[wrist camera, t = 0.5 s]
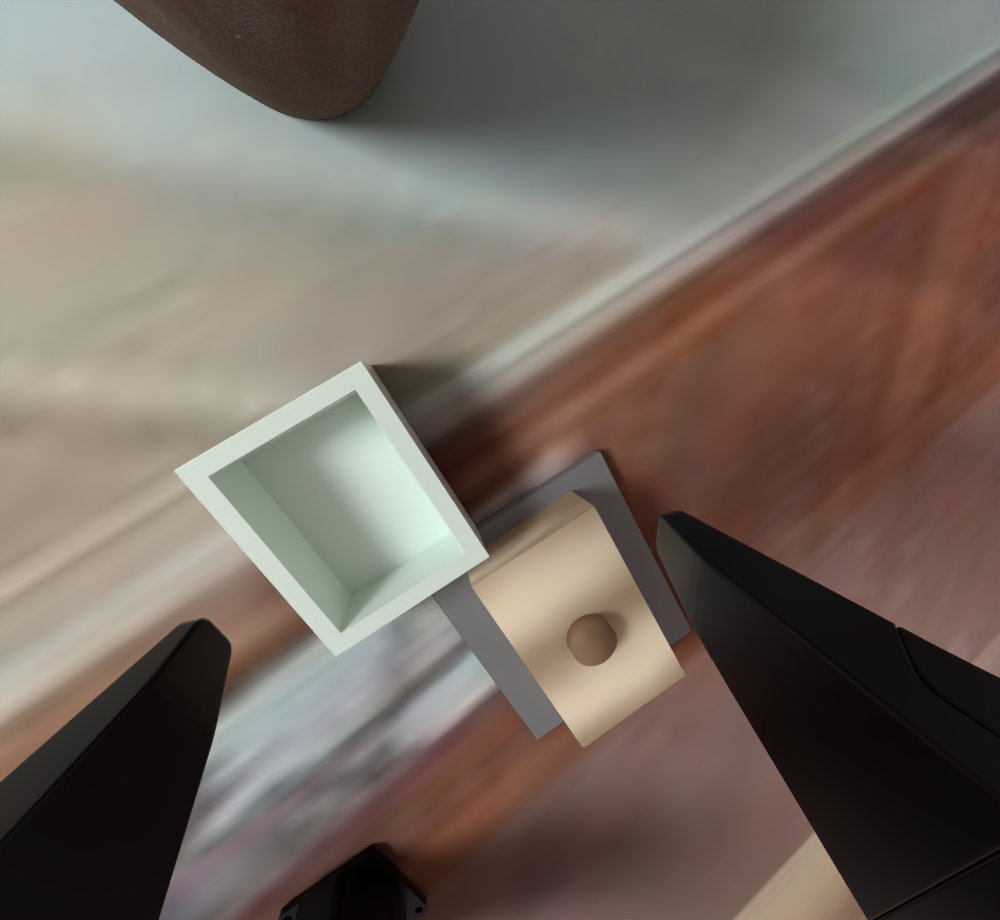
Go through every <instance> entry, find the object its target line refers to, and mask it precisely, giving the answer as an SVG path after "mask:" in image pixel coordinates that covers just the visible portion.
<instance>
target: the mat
mask: <svg viewBox="0 0 1000 920" xmlns="http://www.w3.org/2000/svg"><path fill="white" fill-rule="evenodd" d="M569 491H572V492H574V493H575V494H577V495H578V496H580V497H581V498H583V499H584V500H586V501H587V502H588V503H590V504H591V505H593V506H594V507H595V509H596V510H597V512H598V514H599V516H600V518H601V520H602V522H603V523H604V525H605V527H606V529H607V531H608V533H609V535H610V536H611V538H612V540H613V542H614V544H615V546H616V548H617V549H618V551H619V553H620V555H621V557H622V559H623V561H624V562H625V564H626V566H627V568H628V570H629V572H630V573H631V575H632V577H633V579H634V581H635V583H636V585H637V586H638V588H639V590H640V592H641V594H642V596H643V598H644V599H645V601H646V603H647V605H648V607H649V609H650V611H651V612H652V614H653V616H654V618H655V620H656V622H657V624H658V625H659V627H660V629H661V631H662V633H663V635H664V637H665V638H666V640H667V642H668V644H669V646H671V645H673V644H674V643H675V642H677V641H678V640H680V639H681V638H683V637H684V636H685V635H687V634H688V633H690V632H691V629H690V627H689V625H688V623H687V621H686V619H685V617H684V615H683V613H682V611H681V609H680V607H679V605H678V603H677V601H676V599H675V597H674V596H673V594H672V592H671V590H670V588H669V586H668V584H667V582H666V580H665V578H664V576H663V574H662V572H661V570H660V568H659V566H658V564H657V562H656V560H655V558H654V556H653V554H652V552H651V550H650V549H649V547H648V545H647V543H646V541H645V539H644V537H643V535H642V533H641V531H640V529H639V527H638V525H637V523H636V521H635V519H634V517H633V515H632V513H631V511H630V509H629V507H628V505H627V503H626V502H625V500H624V498H623V496H622V494H621V492H620V490H619V488H618V486H617V484H616V482H615V480H614V478H613V476H612V474H611V472H610V470H609V468H608V466H607V464H606V462H605V460H604V458H603V457H602V455H601V453H600V452H599V451H597V450H594V451H593V452H591V453H590V454H588V455H587V456H585V457H584V458H582V459H580V460H579V461H577V462H576V463H574V464H573V465H571V466H569V467H568V468H566V469H565V470H563V471H562V472H560V473H559V474H557V475H555V476H554V477H552V478H551V479H549V480H548V481H546V482H545V483H543V484H541V485H540V486H538V487H537V488H535V489H534V490H532V491H530V492H529V493H527V494H526V495H524V496H523V497H521V498H520V499H518V500H516V501H515V502H513V503H512V504H510V505H509V506H507V507H505V508H504V509H502V510H501V511H499V512H498V513H496V514H495V515H493V516H491V517H490V518H488V519H487V520H485V521H484V522H482V523H481V524H479V525H477V526H476V527H477V530H478V532H479V534H480V536H481V539H482V541H483V543H484V545H485V546H486V545H487V544H489V543H490V542H492V541H493V540H495V539H496V538H498V537H500V536H501V535H503V534H504V533H506V532H507V531H509V530H510V529H512V528H513V527H515V526H517V525H518V524H520V523H521V522H523V521H524V520H526V519H527V518H529V517H530V516H532V515H534V514H535V513H537V512H538V511H540V510H541V509H543V508H544V507H546V506H547V505H549V504H551V503H552V502H554V501H555V500H557V499H558V498H560V497H561V496H563V495H564V494H566V493H567V492H569ZM431 596H432V597H433V598H434V600H435V601H436V602H437V604H438V605H439V606H440V608H441V609H442V611H443V612H444V613H445V615H446V616H447V617H448V619H449V620H450V621H451V623H452V624H453V626H454V627H455V628H456V630H457V631H458V632H459V634H460V635H461V636H462V638H463V639H464V641H465V642H466V643H467V645H468V646H469V647H470V649H471V650H472V651H473V653H474V654H475V656H476V657H477V658H478V660H479V661H480V662H481V664H482V665H483V666H484V668H485V669H486V670H487V672H488V673H489V675H490V676H491V677H492V679H493V680H494V681H495V683H496V684H497V685H498V687H499V688H500V690H501V691H502V692H503V694H504V695H505V696H506V698H507V699H508V700H509V702H510V703H511V705H512V706H513V707H514V709H515V710H516V711H517V713H518V714H519V715H520V717H521V718H522V720H523V721H524V722H525V724H526V725H527V726H528V728H529V729H530V730H531V732H532V733H533V735H534V736H535V737H536V739H537V740H538V739H539V738H540V737H542V736H543V735H545V734H546V733H548V732H549V731H550V730H552V729H553V728H555V727H556V726H557V725H559V724H560V723H562V722H563V721H564V720H563V718H562V717H561V715H560V714H559V713H558V711H557V710H556V708H555V707H554V705H553V704H552V702H551V701H550V700H549V698H548V697H547V695H546V694H545V692H544V691H543V689H542V688H541V687H540V685H539V684H538V682H537V681H536V679H535V678H534V676H533V675H532V674H531V672H530V671H529V669H528V668H527V666H526V665H525V663H524V662H523V661H522V659H521V658H520V656H519V655H518V653H517V652H516V650H515V649H514V647H513V646H512V645H511V643H510V642H509V640H508V639H507V637H506V636H505V634H504V633H503V632H502V630H501V629H500V627H499V626H498V624H497V623H496V621H495V620H494V619H493V617H492V616H491V614H490V613H489V611H488V610H487V608H486V607H485V606H484V604H483V603H482V601H481V600H480V598H479V597H478V595H477V594H476V593H475V591H474V590H473V588H472V586H471V583H470V580H469V576H468V573H467V572H465V573H464V574H462V575H461V576H459V577H458V578H456V579H455V580H453V581H452V582H450V583H448V584H447V585H445V586H444V587H442V588H441V589H439V590H438V591H436V592H435V593H433V594H432V595H431Z"/></svg>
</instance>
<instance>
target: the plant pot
mask: <svg viewBox="0 0 1000 920" xmlns="http://www.w3.org/2000/svg"><path fill="white" fill-rule="evenodd" d="M114 1H115V2H116V3H118V4H119V5H120V6H122V7H123V8H124V9H125V10H127V11H128V12H129V13H131V14H132V15H133V16H134V17H136V18H137V19H138V20H140V21H141V22H142V23H143V24H145V25H146V26H147V27H149V28H150V29H151V30H153V31H154V32H155V33H157V34H158V35H159V36H161V37H162V38H163V39H165V40H166V41H168V42H169V43H170V44H172V45H173V46H174V47H176V48H177V49H179V50H180V51H181V52H183V53H184V54H185V55H187V56H188V57H190V58H191V59H193V60H194V61H196V62H197V63H199V64H200V65H201V66H203V67H204V68H206V69H207V70H209V71H210V72H212V73H213V74H215V75H216V76H218V77H219V78H221V79H222V80H224V81H226V82H227V83H229V84H230V85H232V86H233V87H235V88H237V89H238V90H240V91H241V92H243V93H245V94H247V95H248V96H250V97H252V98H253V99H255V100H257V101H259V102H260V103H262V104H264V105H266V106H268V107H269V108H271V109H273V110H276V111H278V112H280V113H283V114H285V115H289V116H292V117H297V118H302V119H312V120H318V119H330V118H334V117H337V116H340V115H343V114H345V113H348V112H350V111H352V110H353V109H355V108H356V107H358V106H360V105H361V104H362V103H363V102H364V101H365V100H366V99H367V98H369V96H370V95H371V94H372V93H373V91H374V90H375V88H376V87H377V86H378V84H379V82H380V81H381V79H382V77H383V75H384V74H385V72H386V70H387V68H388V67H389V65H390V63H391V61H392V59H393V57H394V55H395V53H396V51H397V49H398V47H399V45H400V43H401V41H402V39H403V36H404V34H405V32H406V30H407V28H408V25H409V23H410V21H411V19H412V16H413V14H414V12H415V9H416V7H417V4H418V2H419V0H114Z"/></svg>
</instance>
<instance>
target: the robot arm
mask: <svg viewBox="0 0 1000 920" xmlns="http://www.w3.org/2000/svg"><path fill="white" fill-rule="evenodd" d="M656 545H657V550H658V553H659V556H660V558H661V560H662V563H663V565H664V567H665V569H666V571H667V573H668V576H669V578H670V580H671V582H672V584H673V586H674V589H675V591H676V593H677V595H678V597H679V599H680V602H681V604H682V606H683V608H684V610H685V612H686V614H687V617H688V619H689V621H690V623H691V625H692V627H693V628H694V630H695V632H696V634H697V635H698V637H699V639H700V641H701V642H702V644H703V646H704V647H705V649H706V651H707V652H708V654H709V656H710V657H711V659H712V661H713V662H714V664H715V666H716V667H717V669H718V671H719V672H720V674H721V676H722V677H723V679H724V681H725V682H726V684H727V686H728V687H729V689H730V691H731V692H732V694H733V696H734V697H735V699H736V701H737V702H738V704H739V706H740V707H741V709H742V711H743V712H744V714H745V716H746V717H747V719H748V721H749V722H750V724H751V726H752V727H753V729H754V731H755V732H756V734H757V736H758V737H759V739H760V741H761V743H762V744H763V746H764V748H765V749H766V751H767V753H768V754H769V756H770V758H771V759H772V761H773V763H774V764H775V766H776V768H777V769H778V771H779V773H780V774H781V776H782V778H783V779H784V781H785V783H786V784H787V786H788V788H789V789H790V791H791V793H792V794H793V796H794V798H795V799H796V801H797V803H798V804H799V806H800V808H801V809H802V811H803V813H804V814H805V816H806V818H807V819H808V821H809V823H810V824H811V826H812V828H813V829H814V831H815V833H816V834H817V836H818V838H819V839H820V841H821V843H822V844H823V846H824V848H825V850H826V851H827V853H828V855H829V856H830V858H831V860H832V861H833V863H834V865H835V866H836V868H837V870H838V871H839V873H840V875H841V876H842V878H843V880H844V881H845V883H846V885H847V886H848V888H849V890H850V891H851V893H852V895H853V896H854V898H855V900H856V901H857V903H858V905H859V906H860V908H861V910H862V911H863V913H864V915H865V916H866V918H867V919H868V920H1000V678H999V677H997V676H995V675H993V674H991V673H989V672H987V671H985V670H983V669H981V668H979V667H977V666H975V665H973V664H971V663H969V662H967V661H965V660H963V659H961V658H959V657H957V656H955V655H953V654H951V653H949V652H948V651H946V650H944V649H942V648H940V647H938V646H936V645H934V644H932V643H930V642H928V641H926V640H924V639H923V638H921V637H919V636H917V635H915V634H913V633H911V632H909V631H907V630H906V629H904V628H901V627H897V628H896V626H895V624H894V623H892V622H890V621H888V620H886V619H885V618H883V617H881V616H879V615H877V614H875V613H873V612H871V611H869V610H868V609H866V608H864V607H862V606H860V605H858V604H856V603H854V602H853V601H851V600H849V599H847V598H845V597H843V596H841V595H839V594H837V593H836V592H834V591H832V590H830V589H828V588H826V587H824V586H822V585H821V584H819V583H817V582H815V581H813V580H811V579H809V578H807V577H805V576H804V575H802V574H800V573H798V572H796V571H794V570H792V569H790V568H789V567H787V566H785V565H783V564H781V563H779V562H777V561H775V560H773V559H772V558H770V557H768V556H766V555H764V554H762V553H760V552H758V551H757V550H755V549H753V548H751V547H749V546H747V545H745V544H743V543H741V542H740V541H738V540H736V539H734V538H732V537H730V536H728V535H726V534H725V533H723V532H721V531H719V530H717V529H715V528H713V527H711V526H709V525H708V524H706V523H704V522H702V521H700V520H698V519H696V518H694V517H693V516H691V515H689V514H687V513H685V512H683V511H673V512H668V513H664V514H661V515H660V516H659V518H658V525H657V542H656ZM230 658H231V644H230V642H229V640H228V639H227V638H226V637H225V636H224V635H223V634H222V632H221V631H220V630H219V629H218V628H217V627H216V626H215V625H214V624H213V623H212V622H211V621H210V620H208V619H205V618H201V619H196V620H192V621H187V622H184V623H181V624H180V625H178V626H177V627H176V628H175V629H174V630H172V631H171V632H170V633H169V634H168V635H167V636H166V637H164V638H163V639H162V640H161V641H160V642H159V643H158V644H156V645H155V646H154V647H153V648H152V649H151V650H150V651H149V652H147V653H146V654H145V655H144V656H143V657H142V658H141V659H139V660H138V661H137V662H136V663H135V664H134V665H133V666H131V667H130V668H129V669H128V670H127V671H126V672H125V673H124V674H122V675H121V676H120V677H119V678H118V679H117V680H116V681H114V682H113V683H112V684H111V685H110V686H109V687H108V688H106V689H105V690H104V691H103V692H102V693H101V694H100V695H99V696H97V697H96V698H95V699H94V700H93V701H92V702H91V703H89V704H88V705H87V706H86V707H85V708H84V709H83V710H82V711H80V712H79V713H78V714H77V715H76V716H75V717H74V718H72V719H71V720H70V721H69V722H68V723H67V724H66V725H64V726H63V727H62V728H61V729H60V730H59V731H58V732H57V733H55V734H54V735H53V736H52V737H51V738H50V739H49V740H47V741H46V742H45V743H44V744H43V745H42V746H41V747H39V748H38V749H37V750H36V751H35V752H34V753H33V754H32V755H30V756H29V757H28V758H27V759H26V760H25V761H24V762H22V763H21V764H20V765H19V766H18V767H17V768H16V769H15V770H13V771H12V772H11V773H10V774H9V775H8V776H7V777H5V778H4V779H3V780H2V781H1V782H0V920H159V917H160V914H161V910H162V907H163V904H164V900H165V897H166V894H167V891H168V887H169V884H170V881H171V877H172V874H173V871H174V868H175V864H176V861H177V858H178V854H179V851H180V848H181V844H182V841H183V838H184V835H185V831H186V828H187V825H188V821H189V818H190V815H191V812H192V808H193V805H194V802H195V798H196V795H197V792H198V789H199V785H200V782H201V779H202V775H203V772H204V769H205V765H206V762H207V759H208V756H209V752H210V749H211V745H212V742H213V738H214V734H215V730H216V726H217V721H218V716H219V711H220V707H221V702H222V697H223V692H224V687H225V682H226V677H227V672H228V667H229V663H230ZM426 910H427V899H426V897H425V896H424V895H423V894H422V893H420V892H419V891H418V890H417V889H416V888H415V887H414V886H413V885H412V884H411V883H410V882H409V881H408V880H407V879H406V878H405V877H404V876H403V875H402V874H401V873H400V872H399V871H398V870H397V869H396V868H395V867H394V866H393V865H392V864H391V863H390V862H389V861H388V860H387V859H386V858H385V857H384V856H383V855H382V854H381V853H380V852H378V851H377V850H376V849H375V848H368V849H366V850H364V851H363V852H361V853H360V854H358V855H357V856H356V857H354V858H353V859H351V860H350V861H348V862H347V863H346V864H344V865H343V866H341V867H340V868H339V869H337V870H336V871H334V872H333V873H331V874H330V875H329V876H327V877H326V878H324V879H323V880H321V881H320V882H319V883H317V884H316V885H314V886H313V887H311V888H310V889H309V890H307V891H306V892H304V893H303V894H301V895H300V896H299V897H297V898H296V899H294V900H293V901H291V902H290V903H289V904H287V905H286V906H284V907H283V908H282V910H281V912H280V916H279V920H416V919H417V918H419V917H420V916H421V915H423V914H424V913H425V912H426Z"/></svg>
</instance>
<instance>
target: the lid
mask: <svg viewBox="0 0 1000 920" xmlns="http://www.w3.org/2000/svg"><path fill="white" fill-rule="evenodd" d="M485 548H486V550H487V552H488V554H489V557H488V558H487V559H485V560H484V561H482V562H481V563H479V564H478V565H476V566H475V567H473V568H472V569H470V570H468V571H467V573H468V576H469V580H470V583H471V586H472V588H473V590H474V591H475V593H476V594H477V595H478V597H479V598H480V600H481V601H482V603H483V604H484V606H485V607H486V608H487V610H488V611H489V613H490V614H491V616H492V617H493V619H494V620H495V621H496V623H497V624H498V626H499V627H500V629H501V630H502V632H503V633H504V634H505V636H506V637H507V639H508V640H509V642H510V643H511V645H512V646H513V647H514V649H515V650H516V652H517V653H518V655H519V656H520V658H521V659H522V661H523V662H524V663H525V665H526V666H527V668H528V669H529V671H530V672H531V674H532V675H533V676H534V678H535V679H536V681H537V682H538V684H539V685H540V687H541V688H542V689H543V691H544V692H545V694H546V695H547V697H548V698H549V700H550V701H551V702H552V704H553V705H554V707H555V708H556V710H557V711H558V713H559V714H560V715H561V717H562V718H563V720H564V721H565V723H566V724H567V726H568V727H569V729H570V730H571V731H572V733H573V734H574V736H575V737H576V739H577V740H578V742H579V743H580V744H581V746H582V747H583V748H584V747H586V746H587V745H588V744H590V743H591V742H593V741H594V740H595V739H597V738H598V737H600V736H601V735H602V734H604V733H605V732H607V731H608V730H609V729H611V728H612V727H614V726H615V725H616V724H618V723H619V722H621V721H622V720H623V719H625V718H626V717H628V716H629V715H630V714H632V713H633V712H635V711H636V710H637V709H639V708H640V707H642V706H643V705H644V704H646V703H647V702H649V701H650V700H651V699H653V698H654V697H656V696H657V695H658V694H660V693H661V692H663V691H664V690H665V689H667V688H668V687H670V686H671V685H672V684H674V683H675V682H677V681H678V680H679V679H681V678H682V677H684V676H685V674H684V672H683V670H682V668H681V666H680V664H679V662H678V661H677V659H676V657H675V655H674V653H673V651H672V649H671V648H670V646H669V644H668V642H667V640H666V638H665V637H664V635H663V633H662V631H661V629H660V627H659V625H658V624H657V622H656V620H655V618H654V616H653V614H652V612H651V611H650V609H649V607H648V605H647V603H646V601H645V599H644V598H643V596H642V594H641V592H640V590H639V588H638V586H637V585H636V583H635V581H634V579H633V577H632V575H631V573H630V572H629V570H628V568H627V566H626V564H625V562H624V561H623V559H622V557H621V555H620V553H619V551H618V549H617V548H616V546H615V544H614V542H613V540H612V538H611V536H610V535H609V533H608V531H607V529H606V527H605V525H604V523H603V522H602V520H601V518H600V516H599V514H598V512H597V510H596V509H595V507H594V506H593V505H591V504H590V503H588V502H587V501H586V500H584V499H583V498H581V497H580V496H578V495H577V494H575V493H574V492H572V491H569V492H567V493H566V494H564V495H563V496H561V497H560V498H558V499H557V500H555V501H554V502H552V503H551V504H549V505H547V506H546V507H544V508H543V509H541V510H540V511H538V512H537V513H535V514H534V515H532V516H530V517H529V518H527V519H526V520H524V521H523V522H521V523H520V524H518V525H517V526H515V527H513V528H512V529H510V530H509V531H507V532H506V533H504V534H503V535H501V536H500V537H498V538H496V539H495V540H493V541H492V542H490V543H489V544H487V545H486V546H485Z"/></svg>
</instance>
